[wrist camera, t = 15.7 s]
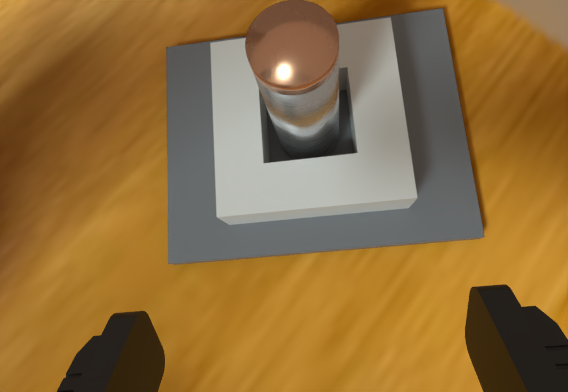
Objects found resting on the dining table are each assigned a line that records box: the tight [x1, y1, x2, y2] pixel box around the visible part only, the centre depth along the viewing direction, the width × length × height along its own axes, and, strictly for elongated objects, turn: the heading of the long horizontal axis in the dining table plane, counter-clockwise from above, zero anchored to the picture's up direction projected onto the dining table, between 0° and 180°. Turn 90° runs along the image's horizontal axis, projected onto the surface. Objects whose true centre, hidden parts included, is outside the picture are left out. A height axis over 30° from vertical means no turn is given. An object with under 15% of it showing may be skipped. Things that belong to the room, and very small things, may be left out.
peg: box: [245, 0, 339, 160], centre depth 23 cm, size 4×4×11 cm
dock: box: [166, 8, 484, 265], centre depth 28 cm, size 20×16×4 cm
